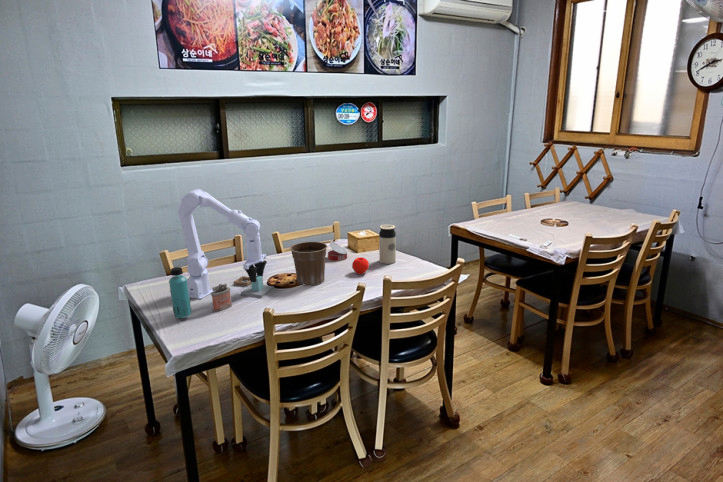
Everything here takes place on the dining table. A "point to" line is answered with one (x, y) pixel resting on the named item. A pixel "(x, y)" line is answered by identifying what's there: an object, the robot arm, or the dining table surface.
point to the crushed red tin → (221, 298)
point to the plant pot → (309, 262)
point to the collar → (238, 282)
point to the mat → (257, 293)
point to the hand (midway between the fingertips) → (256, 279)
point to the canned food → (337, 252)
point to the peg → (257, 284)
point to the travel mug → (387, 244)
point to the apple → (360, 265)
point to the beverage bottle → (179, 293)
